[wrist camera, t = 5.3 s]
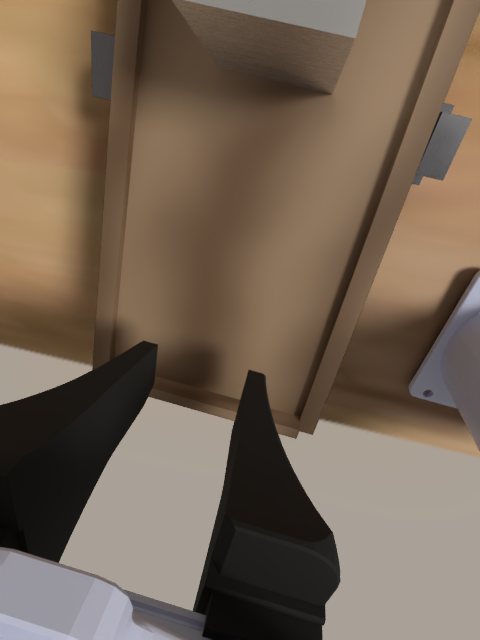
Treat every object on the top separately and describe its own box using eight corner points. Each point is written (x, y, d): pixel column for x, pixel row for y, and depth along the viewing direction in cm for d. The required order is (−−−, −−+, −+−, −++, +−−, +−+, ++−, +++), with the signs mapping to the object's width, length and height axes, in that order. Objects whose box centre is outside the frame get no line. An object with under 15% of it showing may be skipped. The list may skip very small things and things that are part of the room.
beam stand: (503, -20, 12) (556, -59, 10) (339, 356, 21) (344, 388, 18) (133, -98, 13) (89, -154, 10) (121, 296, 21) (94, 320, 19)
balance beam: (496, -67, 11) (539, -120, 9) (311, 416, 18) (313, 443, 16) (148, -138, 11) (119, -202, 9) (106, 358, 18) (85, 378, 16)
